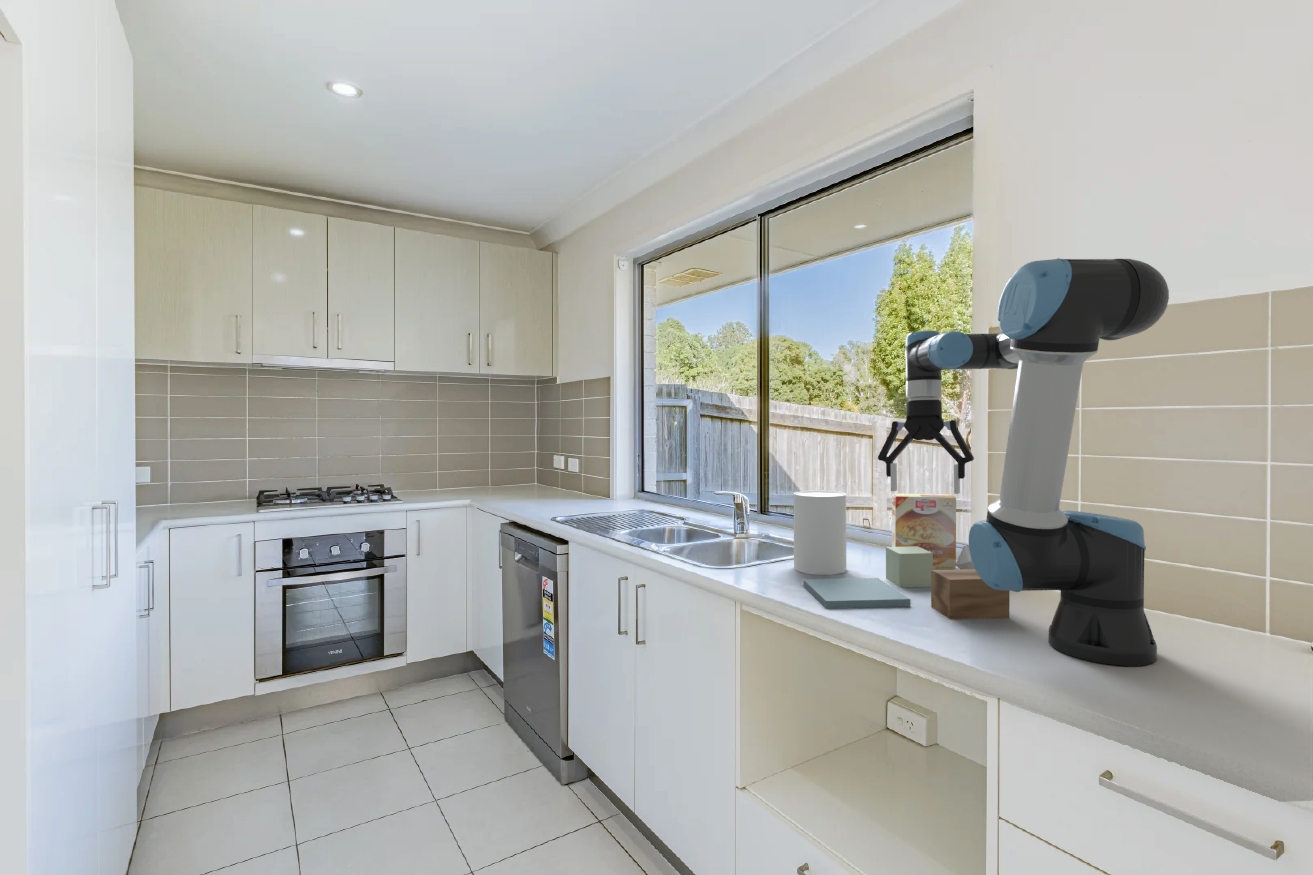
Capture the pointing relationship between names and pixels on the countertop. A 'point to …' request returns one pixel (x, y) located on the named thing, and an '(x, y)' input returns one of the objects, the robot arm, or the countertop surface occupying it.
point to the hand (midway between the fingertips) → (924, 492)
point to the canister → (820, 532)
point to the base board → (855, 593)
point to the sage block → (909, 566)
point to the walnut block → (966, 596)
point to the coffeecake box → (926, 525)
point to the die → (965, 559)
